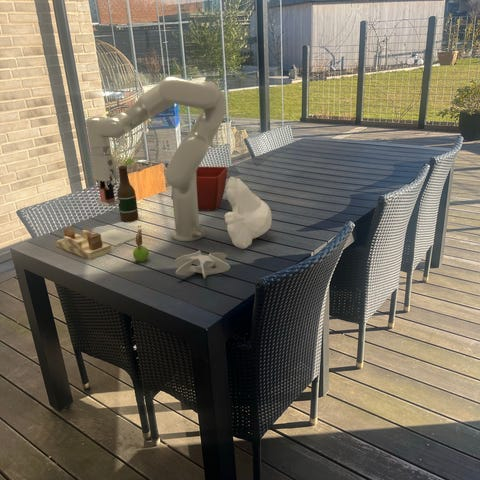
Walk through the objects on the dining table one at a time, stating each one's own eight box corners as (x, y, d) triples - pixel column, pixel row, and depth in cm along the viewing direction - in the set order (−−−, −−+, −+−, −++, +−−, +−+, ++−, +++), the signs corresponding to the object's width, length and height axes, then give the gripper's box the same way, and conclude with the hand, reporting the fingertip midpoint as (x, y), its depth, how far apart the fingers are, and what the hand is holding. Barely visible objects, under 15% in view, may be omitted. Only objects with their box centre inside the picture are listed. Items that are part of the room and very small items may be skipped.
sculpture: (219, 288, 147) (218, 269, 144) (162, 280, 154) (160, 262, 152) (240, 265, 162) (239, 248, 159) (188, 258, 169) (186, 242, 167)
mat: (137, 237, 191) (137, 236, 190) (115, 246, 183) (115, 245, 183) (113, 230, 200) (113, 228, 200) (91, 238, 192) (90, 237, 192)
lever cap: (119, 203, 185) (117, 187, 183) (109, 206, 182) (106, 190, 180) (107, 199, 190) (105, 184, 188) (96, 203, 187) (94, 187, 184)
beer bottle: (121, 223, 208) (113, 169, 199) (120, 218, 215) (112, 165, 206) (139, 221, 209) (132, 167, 201) (138, 215, 216) (131, 163, 208)
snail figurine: (151, 256, 173) (147, 224, 168) (148, 263, 167) (144, 231, 162) (135, 256, 172) (131, 225, 168) (132, 264, 166) (128, 232, 162)
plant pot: (220, 213, 214) (218, 176, 208) (179, 212, 218) (176, 176, 212) (229, 200, 232) (227, 166, 225) (192, 200, 236) (189, 166, 229)
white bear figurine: (248, 209, 196) (216, 170, 179) (281, 207, 186) (250, 166, 170) (228, 262, 185) (192, 225, 168) (262, 263, 175) (227, 224, 159)
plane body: (111, 251, 178) (108, 232, 175) (90, 259, 172) (87, 240, 169) (78, 239, 191) (74, 222, 189) (57, 246, 185) (54, 228, 182)
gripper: (122, 151, 176) (128, 199, 183) (96, 147, 186) (103, 192, 193) (105, 154, 171) (112, 204, 178) (79, 150, 181) (87, 197, 188)
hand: (107, 197), depth 185 cm, fingers closed on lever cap, 3 cm apart
